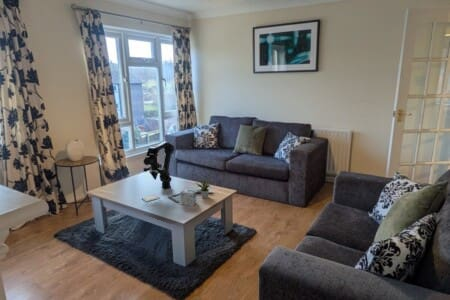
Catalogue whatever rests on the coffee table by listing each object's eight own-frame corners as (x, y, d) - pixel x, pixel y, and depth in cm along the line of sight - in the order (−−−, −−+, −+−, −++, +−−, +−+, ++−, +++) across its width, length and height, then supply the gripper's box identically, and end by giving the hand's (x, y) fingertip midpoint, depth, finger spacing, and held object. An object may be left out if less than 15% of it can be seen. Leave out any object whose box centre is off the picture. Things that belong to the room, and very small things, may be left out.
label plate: (155, 194, 250) (154, 194, 249) (159, 198, 243) (159, 197, 243) (141, 198, 242) (141, 197, 242) (146, 202, 236) (146, 201, 235)
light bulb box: (196, 202, 234) (196, 189, 231) (193, 206, 228) (193, 193, 225) (184, 201, 237) (183, 188, 234) (180, 204, 230) (180, 191, 228)
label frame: (181, 193, 252) (181, 193, 252) (190, 198, 241) (190, 198, 241) (167, 197, 244) (167, 197, 244) (176, 203, 233) (176, 202, 233)
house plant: (207, 191, 255) (206, 173, 251) (217, 196, 245) (217, 177, 241) (193, 196, 246) (193, 177, 242) (203, 201, 236) (203, 182, 232)
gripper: (168, 160, 249) (169, 177, 253) (150, 158, 256) (151, 175, 259) (161, 163, 239) (162, 182, 243) (142, 161, 245) (143, 179, 249)
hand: (155, 179), depth 249 cm, fingers closed
